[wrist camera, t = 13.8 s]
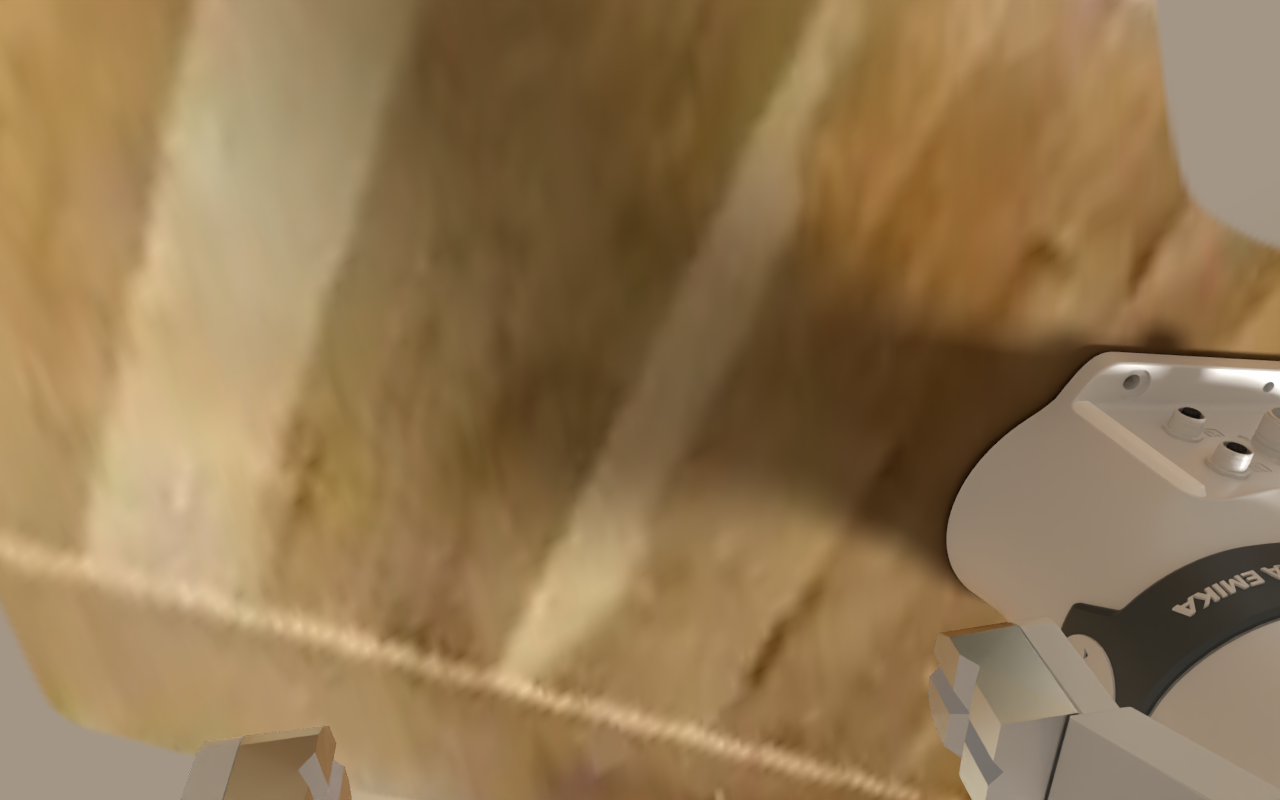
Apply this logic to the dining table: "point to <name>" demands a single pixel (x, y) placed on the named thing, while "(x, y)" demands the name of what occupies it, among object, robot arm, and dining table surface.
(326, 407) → the dining table surface
